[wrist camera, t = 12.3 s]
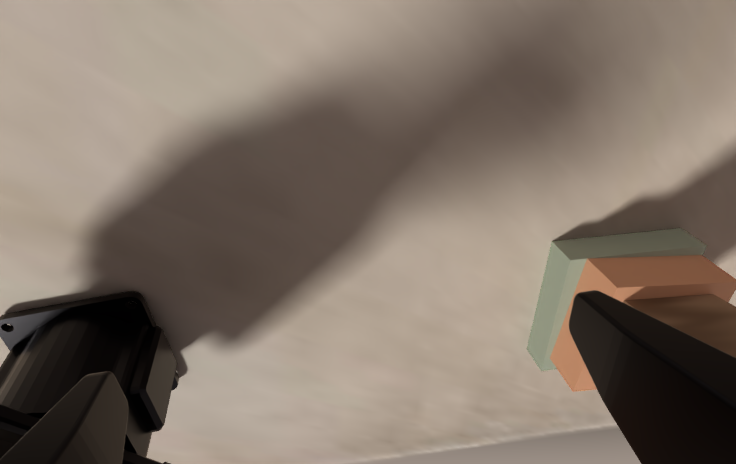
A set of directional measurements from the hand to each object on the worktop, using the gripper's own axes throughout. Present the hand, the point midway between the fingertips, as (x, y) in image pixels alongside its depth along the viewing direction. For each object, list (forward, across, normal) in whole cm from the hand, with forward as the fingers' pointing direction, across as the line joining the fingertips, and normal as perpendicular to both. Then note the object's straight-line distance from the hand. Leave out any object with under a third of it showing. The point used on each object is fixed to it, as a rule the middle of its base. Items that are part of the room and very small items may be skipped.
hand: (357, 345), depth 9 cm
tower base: (+14, -16, +12) cm, 24 cm away
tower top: (+11, -16, +12) cm, 23 cm away
